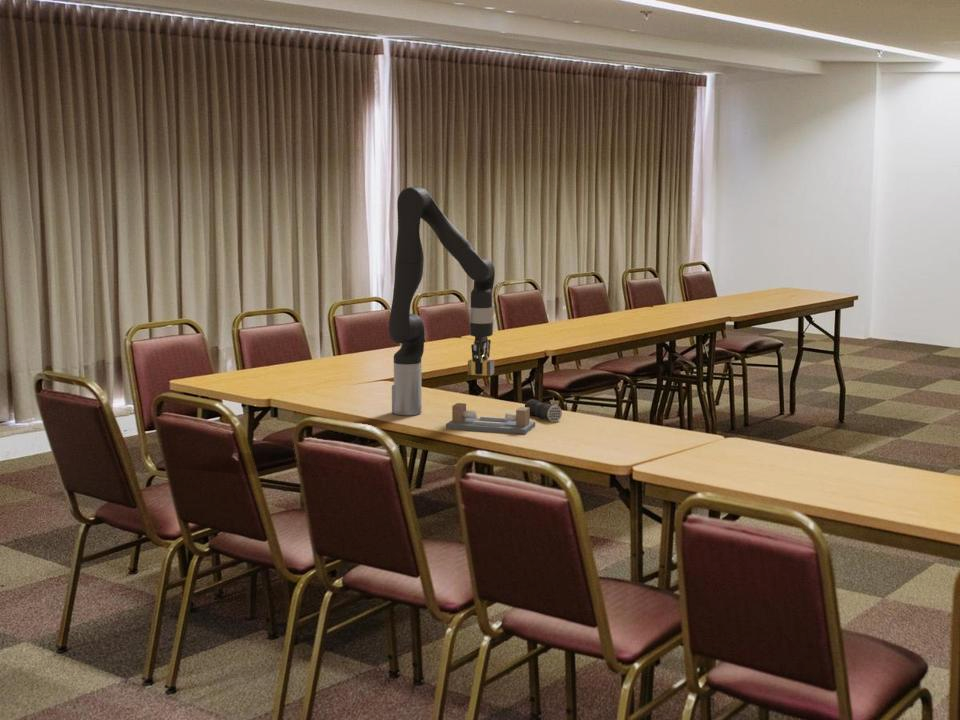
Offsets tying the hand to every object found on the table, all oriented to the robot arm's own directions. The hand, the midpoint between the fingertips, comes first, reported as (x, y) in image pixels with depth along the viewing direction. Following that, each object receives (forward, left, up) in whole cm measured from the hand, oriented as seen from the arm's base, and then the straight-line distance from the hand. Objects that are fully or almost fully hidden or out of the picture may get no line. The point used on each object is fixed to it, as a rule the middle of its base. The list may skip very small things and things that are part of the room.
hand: (481, 372), depth 377 cm
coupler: (0, 0, 0) cm, 0 cm away
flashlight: (+19, +8, -16) cm, 26 cm away
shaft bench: (+7, -12, -15) cm, 21 cm away
